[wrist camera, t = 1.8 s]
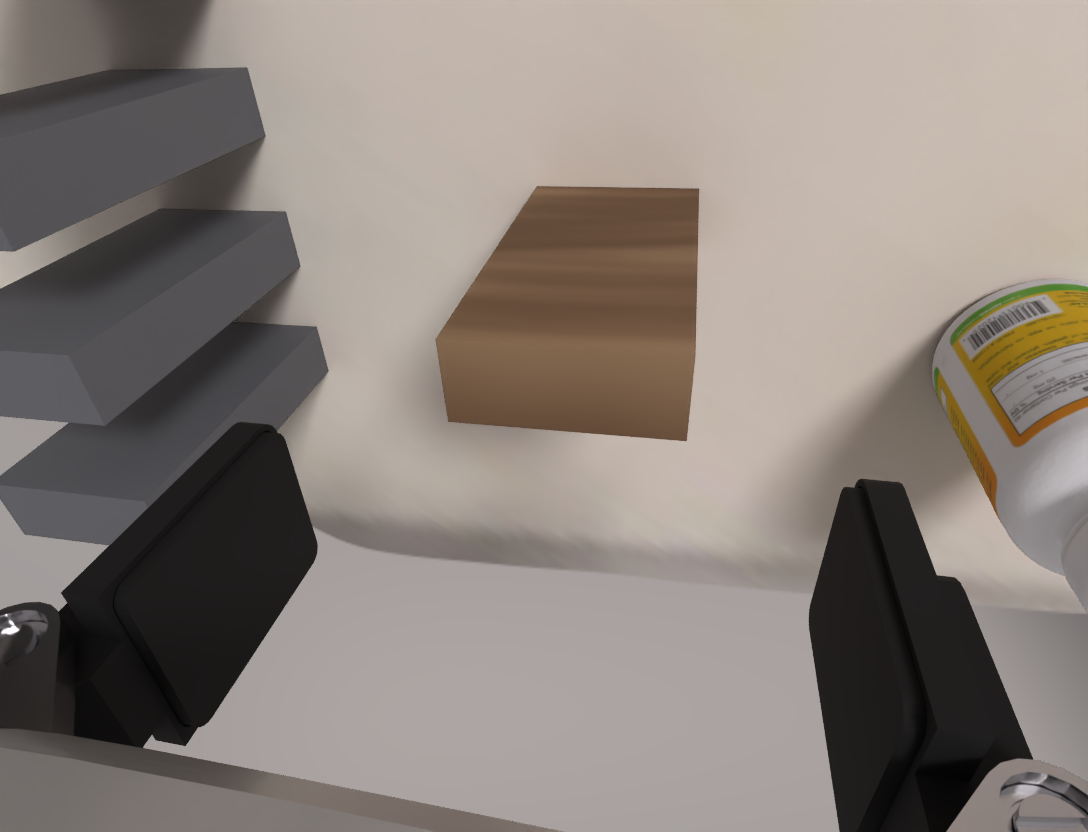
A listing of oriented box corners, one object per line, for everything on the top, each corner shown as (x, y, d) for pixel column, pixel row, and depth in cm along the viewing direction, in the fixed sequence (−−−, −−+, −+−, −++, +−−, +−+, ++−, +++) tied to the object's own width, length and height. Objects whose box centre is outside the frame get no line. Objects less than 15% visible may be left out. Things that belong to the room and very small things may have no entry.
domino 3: (202, 320, 27) (-11, 484, 19) (316, 326, 26) (144, 501, 18) (218, 363, 28) (24, 534, 20) (328, 371, 27) (171, 553, 19)
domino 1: (107, 70, 22) (-241, 149, 14) (246, 67, 21) (-39, 151, 13) (132, 135, 23) (-176, 243, 15) (265, 136, 22) (13, 251, 14)
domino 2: (160, 208, 24) (-107, 343, 16) (285, 211, 23) (68, 355, 15) (179, 261, 25) (-61, 410, 17) (300, 265, 24) (105, 425, 16)
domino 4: (537, 186, 21) (435, 339, 13) (699, 188, 20) (695, 354, 12) (539, 247, 22) (448, 421, 14) (693, 251, 21) (686, 440, 13)
